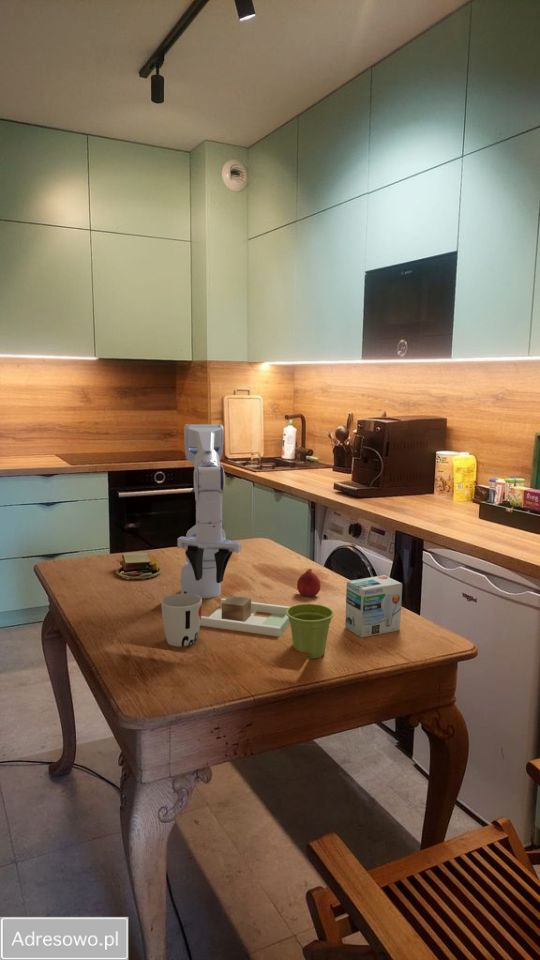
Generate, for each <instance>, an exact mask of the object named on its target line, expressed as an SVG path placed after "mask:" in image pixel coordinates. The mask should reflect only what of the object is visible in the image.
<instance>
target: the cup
mask: <svg viewBox="0 0 540 960" xmlns="http://www.w3.org/2000/svg"><path fill="white" fill-rule="evenodd" d="M202 602H203V598H201V597H200V596H197V595H194V594H187V593H186V592H185V593H182V594H181V593H174V594H173V593H172V594H170V595H167V596H164V597H163V598H162V599H161V601H160V604H161V617H162V624H163V631H164V634H165V639H166V641H167V643H168V645H170V646H174V647H188V646H191V645H194V644H196V642H197V640H198V638H199V634H200V627H201V625H200V622H201V616H202V605H203V603H202ZM171 651H172V652H175V653H181V651H179V650H174V649H173V650H171Z"/></svg>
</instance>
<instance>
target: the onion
mask: <svg viewBox="0 0 540 960" xmlns="http://www.w3.org/2000/svg"><path fill="white" fill-rule="evenodd" d="M296 583H297V584H296V587H297V589H296V590H297V591H298V593H299V595H300V596H301V597H305V598H313V597H316V596H317V595H318V594H319V593H320V590H321V580H320V578H319V577H318V576H317V574H316V573H314V572H313V569H312V568H310V567H308V568H307V569H306V571H305V572H303V573H302V574H301V575H300V576H299V578H297V582H296Z"/></svg>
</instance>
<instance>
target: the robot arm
mask: <svg viewBox="0 0 540 960" xmlns="http://www.w3.org/2000/svg"><path fill="white" fill-rule="evenodd" d="M183 430H184V431H183V436H184V437H183V438H184V439H183V441H184V455H185V460H187V461H189V462H191V463H192V465H193V468H194V470H193V489H194V490H193V491H194V495H195V497H194V499H195V510H196V511H195V525H193V526H192V527H191V528H190V529H188V530H187V533H186V535H185V536H180V537H178V538H177V547H178V548H183V547H184V548H185V551H184V553H185V561H186V562H184V563H183V566H182V568H181V570H180V571H181V572H180V594H182V593H185V594H194V595H197V596H200V597H201V598H202V599H211V598H217V597H218V596H220V595H221V593H222V588H221V587H222V582H223V581H224V576H225V572H226V568H227V566H228V563H229V560H230V559H231V557H232V555H233V553H236V554H238V553H241V552H242V542H240V541H234V540H230V539H226V531H225V530H224V529H223V493H224V491H225V484H226V482H225V477H226V476H225V470H224V466H223V465H222V464H221V459H222V455H223V451H224V444H225V439H224V437H225V433H224V432H225V431H224V425H222V423H218V424H193V423H192V424H189V423H186V424H184V427H183ZM221 491H222V492H221Z"/></svg>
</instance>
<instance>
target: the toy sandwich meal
mask: <svg viewBox="0 0 540 960" xmlns="http://www.w3.org/2000/svg"><path fill="white" fill-rule="evenodd" d="M121 558H122V560H120V561H119V565H120V566H121V567H119V568H117V569H116V570H115V574H116V575H117V576H119V577H120V576H121V577H124V578H129V579H143V580H147V579H146V578H149V579H152V578H151V577H153V578H156V577H157V576H159V575H160V574H161V573H162V571H163V569H162V567H161V566H159V563H158V559H157V557H155V556H152V558H151V560H150V558H149V553H148V552H146V551H145V552H144V551H142V552H140V551H134V552H125V553H122V554H121ZM121 571H124V573H122V574H120V572H121ZM155 576H156V577H155ZM121 577H120V578H121ZM124 578H123V579H124ZM129 579H128V580H129Z"/></svg>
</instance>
